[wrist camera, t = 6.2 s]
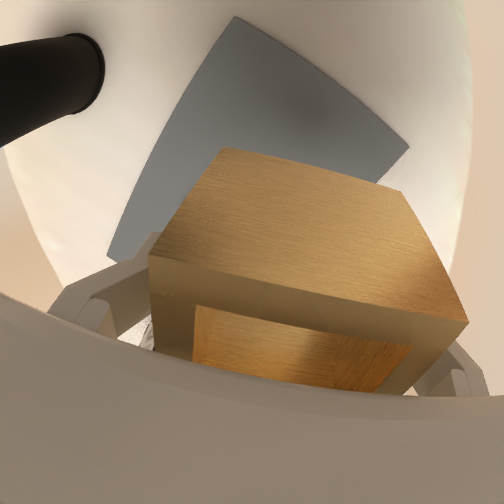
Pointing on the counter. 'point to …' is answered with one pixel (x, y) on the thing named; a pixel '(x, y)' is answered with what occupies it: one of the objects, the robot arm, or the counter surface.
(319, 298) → the brass square frame
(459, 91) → the counter surface
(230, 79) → the mat
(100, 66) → the aerosol can
